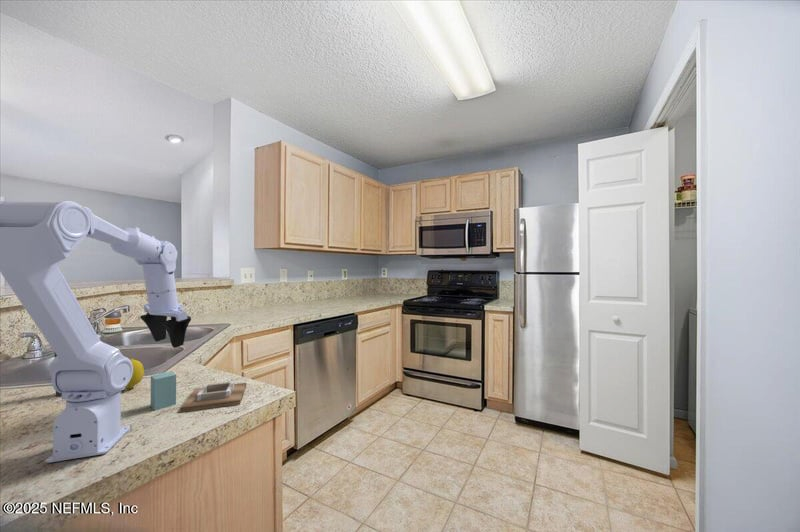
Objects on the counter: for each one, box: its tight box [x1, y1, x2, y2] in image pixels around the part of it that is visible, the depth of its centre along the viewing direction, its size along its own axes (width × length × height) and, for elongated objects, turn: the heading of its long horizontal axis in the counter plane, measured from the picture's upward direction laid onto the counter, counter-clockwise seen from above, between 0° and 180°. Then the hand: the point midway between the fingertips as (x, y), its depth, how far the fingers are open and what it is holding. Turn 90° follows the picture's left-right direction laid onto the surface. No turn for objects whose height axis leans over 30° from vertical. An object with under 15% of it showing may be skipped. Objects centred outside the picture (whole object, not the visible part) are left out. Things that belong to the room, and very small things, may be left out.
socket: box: [179, 381, 247, 413], centre depth 78 cm, size 12×12×2 cm
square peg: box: [150, 371, 177, 411], centre depth 74 cm, size 4×4×7 cm
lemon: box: [125, 358, 145, 390], centre depth 84 cm, size 6×6×8 cm
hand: (169, 342), depth 79 cm, fingers open, 7 cm apart
